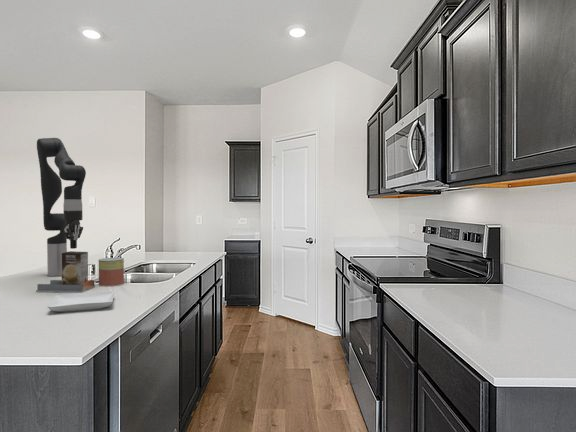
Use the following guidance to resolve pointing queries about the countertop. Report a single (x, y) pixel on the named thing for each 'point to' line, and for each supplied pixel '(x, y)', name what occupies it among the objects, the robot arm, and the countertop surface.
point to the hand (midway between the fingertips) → (73, 248)
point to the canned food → (111, 271)
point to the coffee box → (74, 267)
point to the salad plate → (81, 301)
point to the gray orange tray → (65, 287)
